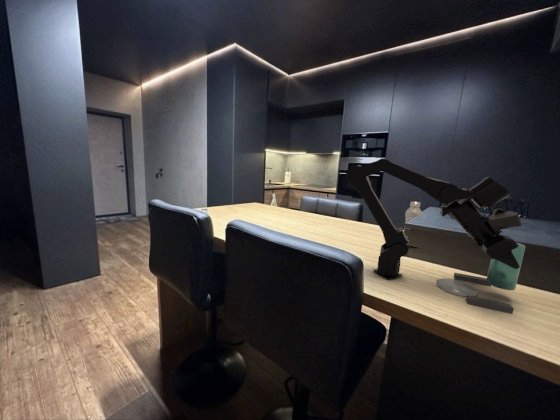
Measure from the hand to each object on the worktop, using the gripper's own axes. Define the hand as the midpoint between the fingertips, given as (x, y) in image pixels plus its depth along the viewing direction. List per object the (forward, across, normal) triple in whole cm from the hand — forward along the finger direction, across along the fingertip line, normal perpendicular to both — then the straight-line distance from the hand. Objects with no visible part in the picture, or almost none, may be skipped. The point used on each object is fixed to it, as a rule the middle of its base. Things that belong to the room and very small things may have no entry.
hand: (512, 263), depth 64 cm
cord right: (+3, -8, +11) cm, 14 cm away
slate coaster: (0, 0, +15) cm, 15 cm away
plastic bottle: (-8, +36, +23) cm, 43 cm away
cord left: (+3, +8, +11) cm, 14 cm away
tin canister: (+4, 0, +6) cm, 7 cm away
